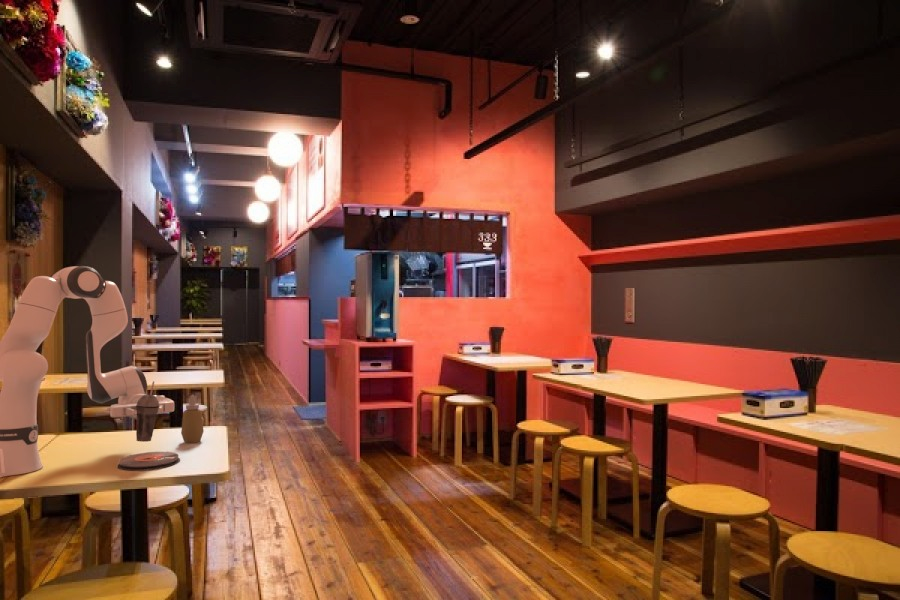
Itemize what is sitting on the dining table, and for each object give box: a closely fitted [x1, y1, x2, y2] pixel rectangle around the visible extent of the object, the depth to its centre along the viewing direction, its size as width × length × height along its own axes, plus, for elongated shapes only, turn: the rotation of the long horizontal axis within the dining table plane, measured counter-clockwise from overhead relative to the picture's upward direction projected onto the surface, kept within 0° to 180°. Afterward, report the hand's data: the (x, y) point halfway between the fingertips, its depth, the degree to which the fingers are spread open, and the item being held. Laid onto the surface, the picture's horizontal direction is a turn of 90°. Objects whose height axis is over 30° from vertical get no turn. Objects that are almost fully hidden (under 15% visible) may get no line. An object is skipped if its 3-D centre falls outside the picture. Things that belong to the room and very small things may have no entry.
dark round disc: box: [118, 451, 179, 469], centre depth 211 cm, size 18×18×1 cm
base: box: [116, 457, 181, 472], centre depth 211 cm, size 19×19×1 cm
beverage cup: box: [135, 381, 159, 443], centre depth 215 cm, size 7×7×20 cm
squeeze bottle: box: [180, 394, 205, 444], centre depth 244 cm, size 8×8×18 cm
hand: (147, 411), depth 214 cm, fingers closed on beverage cup, 7 cm apart
